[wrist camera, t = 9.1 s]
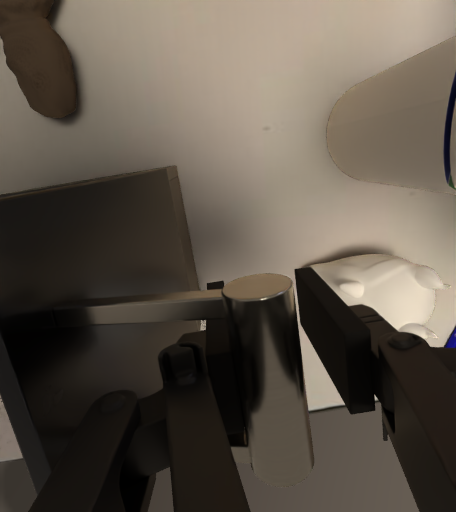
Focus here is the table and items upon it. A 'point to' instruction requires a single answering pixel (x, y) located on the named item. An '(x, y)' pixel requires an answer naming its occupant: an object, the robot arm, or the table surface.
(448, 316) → the table surface
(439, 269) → the table surface
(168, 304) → the lid
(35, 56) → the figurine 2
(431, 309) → the piggy bank
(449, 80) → the container
